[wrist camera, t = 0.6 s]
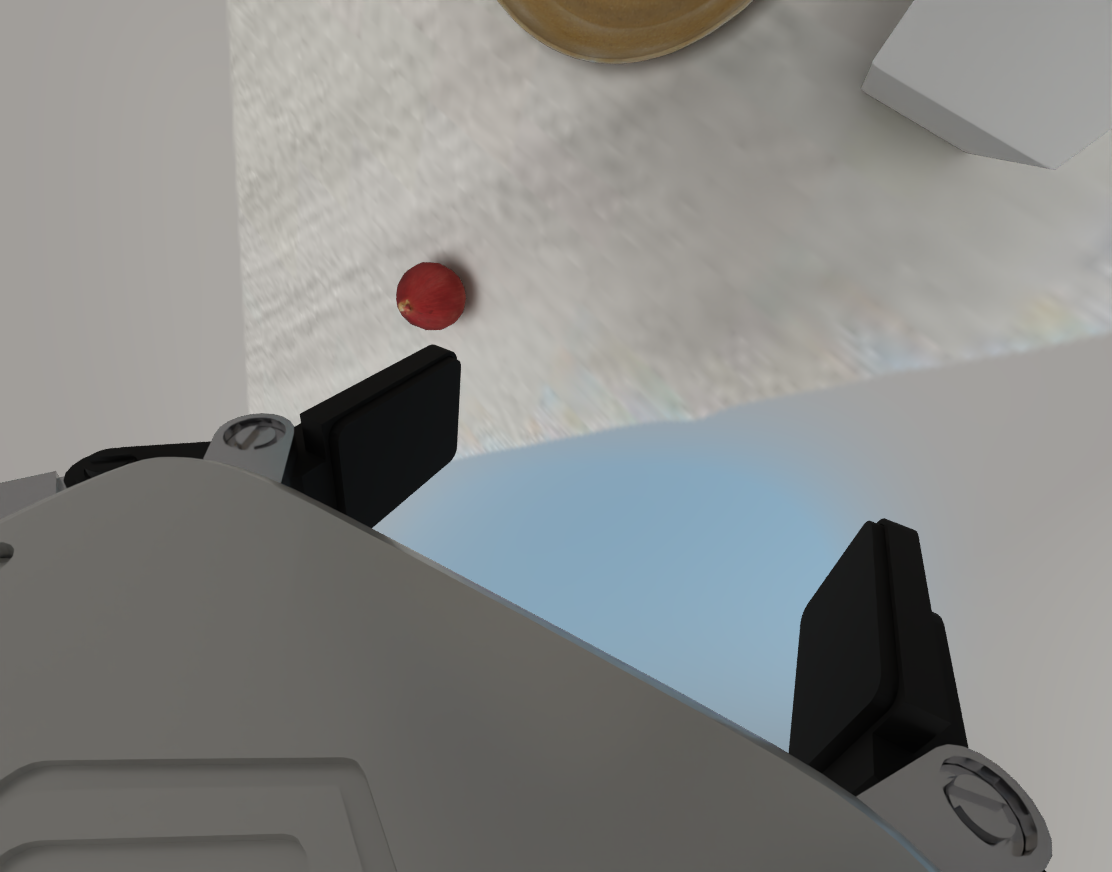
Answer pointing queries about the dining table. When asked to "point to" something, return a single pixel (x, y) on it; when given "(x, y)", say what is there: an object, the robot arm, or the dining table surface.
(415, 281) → the onion
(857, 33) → the dining table surface
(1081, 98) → the milk carton
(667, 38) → the plant saucer
